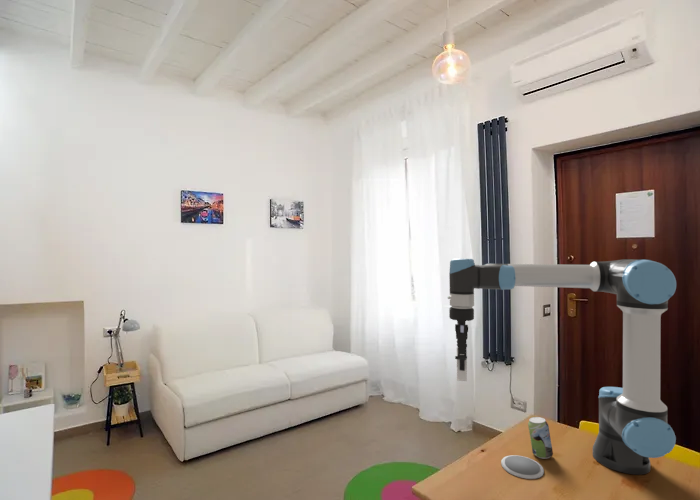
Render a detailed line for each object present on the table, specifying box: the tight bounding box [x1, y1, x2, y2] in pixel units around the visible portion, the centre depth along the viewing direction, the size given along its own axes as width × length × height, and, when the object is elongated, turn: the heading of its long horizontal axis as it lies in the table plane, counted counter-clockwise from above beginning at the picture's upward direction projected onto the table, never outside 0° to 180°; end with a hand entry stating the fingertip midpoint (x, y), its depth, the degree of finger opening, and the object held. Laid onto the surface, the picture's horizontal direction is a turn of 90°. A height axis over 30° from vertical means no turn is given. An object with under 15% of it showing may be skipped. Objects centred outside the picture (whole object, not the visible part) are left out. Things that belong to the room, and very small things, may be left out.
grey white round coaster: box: [500, 454, 545, 480], centre depth 120 cm, size 12×12×1 cm
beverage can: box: [527, 416, 554, 460], centre depth 126 cm, size 6×7×12 cm
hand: (461, 373), depth 123 cm, fingers open, 13 cm apart
